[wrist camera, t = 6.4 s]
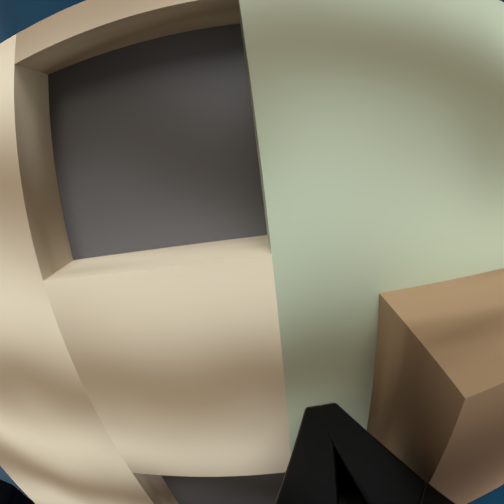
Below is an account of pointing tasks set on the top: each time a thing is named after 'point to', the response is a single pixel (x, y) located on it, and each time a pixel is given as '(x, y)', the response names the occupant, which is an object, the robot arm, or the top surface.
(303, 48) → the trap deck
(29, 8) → the top surface
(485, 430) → the walnut block
